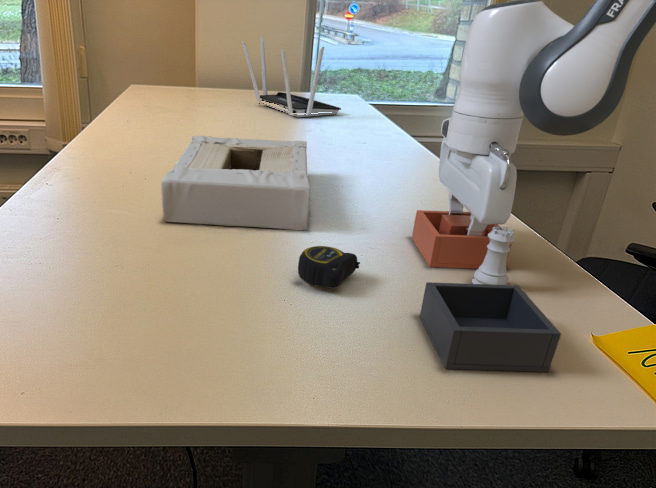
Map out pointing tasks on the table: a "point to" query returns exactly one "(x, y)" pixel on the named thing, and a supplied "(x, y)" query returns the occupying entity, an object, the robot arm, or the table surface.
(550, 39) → the robot arm
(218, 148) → the box
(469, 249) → the terracotta bin
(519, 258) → the table surface
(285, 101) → the wireless router
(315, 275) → the tape measure
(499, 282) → the rook chess piece
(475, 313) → the charcoal bin
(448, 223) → the terracotta block
